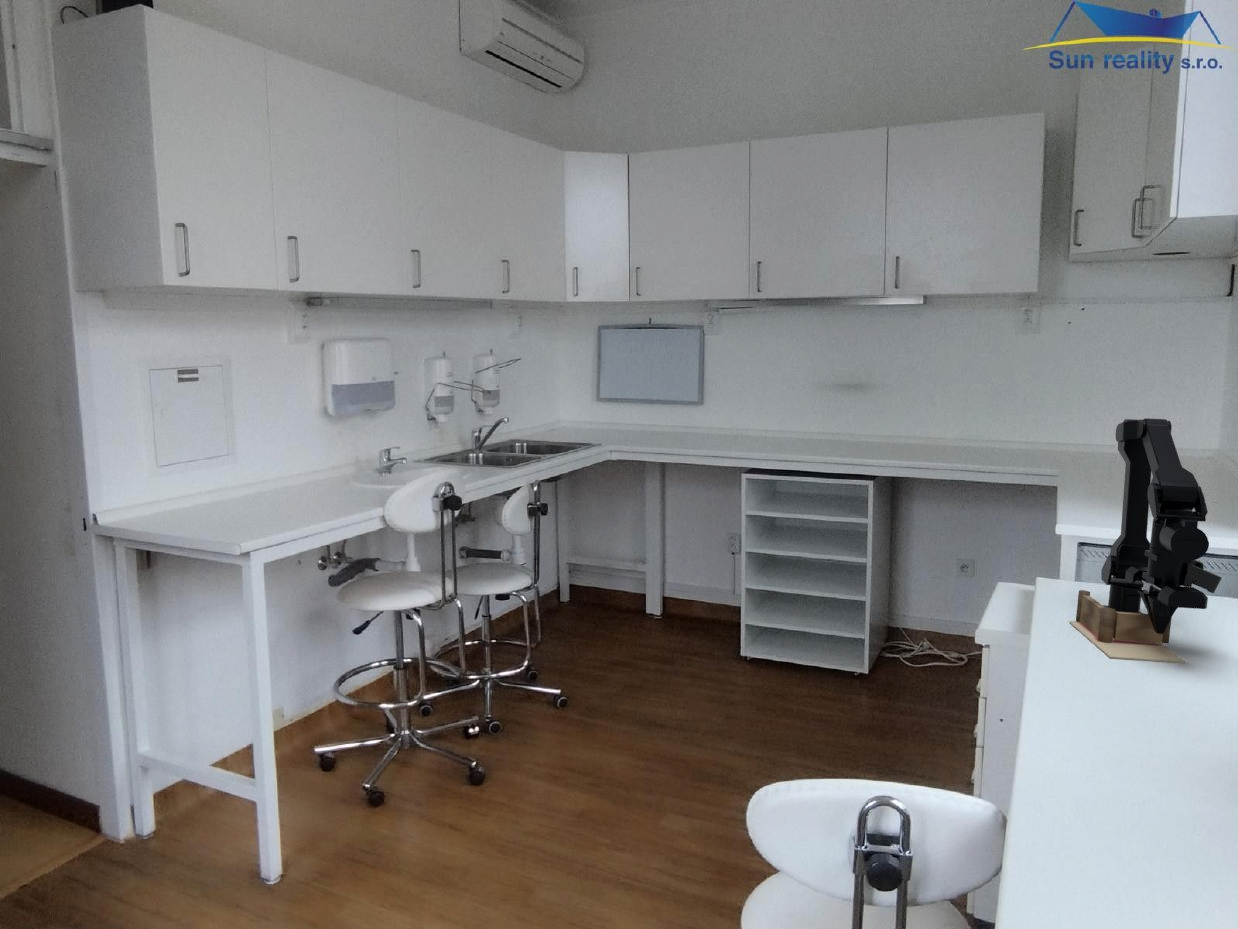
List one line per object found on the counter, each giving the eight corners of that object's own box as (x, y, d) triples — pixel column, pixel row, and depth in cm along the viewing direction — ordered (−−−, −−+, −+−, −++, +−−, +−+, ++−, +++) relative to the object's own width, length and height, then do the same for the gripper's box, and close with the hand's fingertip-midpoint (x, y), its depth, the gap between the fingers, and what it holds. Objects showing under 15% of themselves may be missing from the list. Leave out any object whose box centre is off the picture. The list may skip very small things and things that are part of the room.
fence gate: (1115, 640, 168) (1118, 612, 167) (1112, 637, 170) (1115, 610, 169) (1170, 644, 167) (1173, 616, 166) (1166, 641, 168) (1169, 613, 167)
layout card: (1069, 623, 180) (1069, 621, 180) (1136, 627, 179) (1137, 625, 179) (1109, 658, 161) (1110, 656, 160) (1186, 663, 159) (1186, 661, 159)
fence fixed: (1073, 619, 182) (1076, 589, 181) (1086, 620, 181) (1089, 590, 181) (1100, 642, 168) (1103, 610, 167) (1114, 643, 168) (1117, 611, 167)
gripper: (1246, 563, 153) (1235, 653, 155) (1191, 539, 171) (1182, 620, 173) (1174, 559, 154) (1164, 649, 156) (1128, 536, 172) (1119, 617, 175)
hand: (1159, 633), depth 165 cm, fingers closed
